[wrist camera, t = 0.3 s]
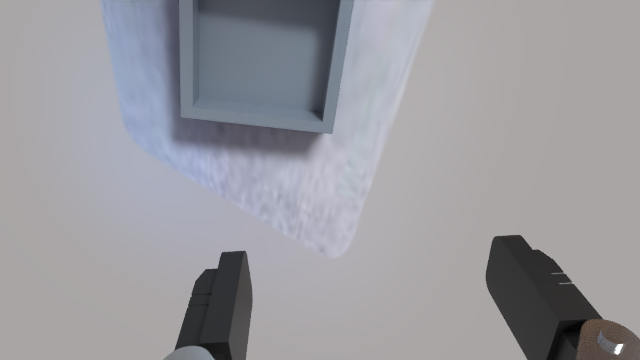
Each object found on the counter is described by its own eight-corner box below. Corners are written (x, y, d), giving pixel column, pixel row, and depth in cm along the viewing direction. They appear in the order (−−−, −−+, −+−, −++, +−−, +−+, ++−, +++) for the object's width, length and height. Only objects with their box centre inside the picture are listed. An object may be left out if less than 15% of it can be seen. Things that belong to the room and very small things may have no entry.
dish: (189, -42, 33) (178, -42, 30) (350, -18, 34) (356, -15, 31) (189, 104, 38) (180, 117, 35) (329, 120, 40) (332, 134, 37)
